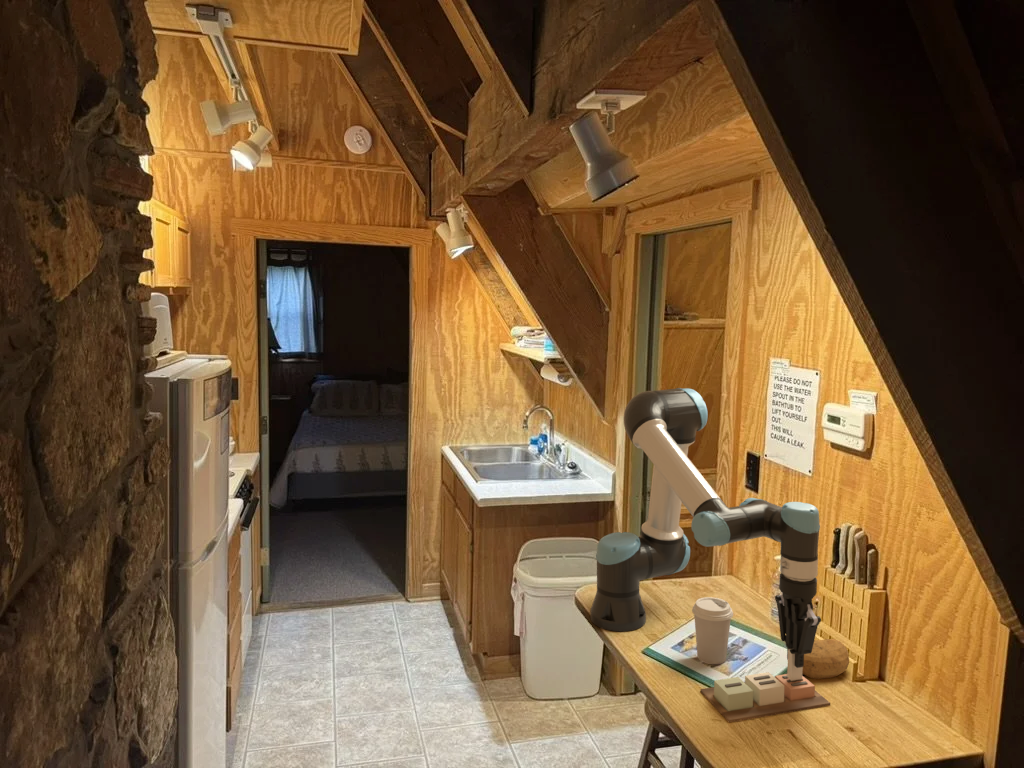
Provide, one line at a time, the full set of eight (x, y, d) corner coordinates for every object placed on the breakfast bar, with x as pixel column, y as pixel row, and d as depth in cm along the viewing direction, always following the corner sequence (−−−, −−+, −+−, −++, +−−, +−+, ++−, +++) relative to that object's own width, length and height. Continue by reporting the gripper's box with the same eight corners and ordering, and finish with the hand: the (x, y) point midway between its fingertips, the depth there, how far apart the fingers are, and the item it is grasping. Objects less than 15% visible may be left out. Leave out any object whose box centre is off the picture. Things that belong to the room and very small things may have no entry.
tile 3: (774, 692, 158) (775, 674, 158) (797, 688, 160) (798, 670, 159) (790, 707, 153) (791, 688, 152) (814, 703, 154) (814, 684, 154)
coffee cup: (734, 674, 167) (735, 614, 165) (692, 671, 169) (693, 611, 167) (730, 654, 176) (731, 597, 174) (690, 651, 178) (691, 594, 176)
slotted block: (714, 697, 155) (714, 679, 154) (737, 693, 156) (738, 675, 156) (728, 712, 149) (728, 693, 149) (752, 708, 151) (753, 689, 150)
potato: (779, 671, 168) (780, 639, 167) (828, 661, 172) (829, 629, 171) (808, 692, 159) (809, 658, 158) (859, 681, 163) (860, 648, 162)
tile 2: (744, 692, 157) (745, 674, 156) (768, 689, 158) (768, 670, 157) (759, 707, 151) (760, 688, 150) (783, 703, 152) (784, 684, 152)
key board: (700, 697, 158) (700, 689, 157) (795, 682, 163) (795, 674, 163) (728, 729, 146) (728, 720, 146) (830, 711, 152) (830, 702, 151)
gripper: (765, 565, 158) (762, 665, 161) (802, 588, 146) (798, 696, 149) (794, 562, 160) (791, 661, 163) (833, 584, 147) (829, 691, 150)
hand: (794, 677), depth 156 cm, fingers closed
